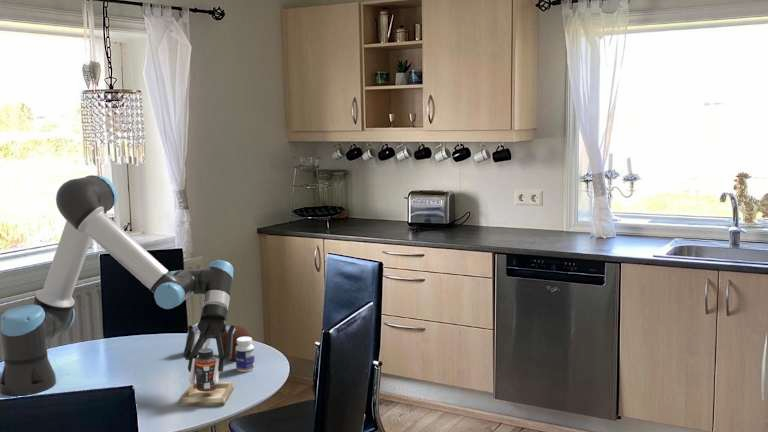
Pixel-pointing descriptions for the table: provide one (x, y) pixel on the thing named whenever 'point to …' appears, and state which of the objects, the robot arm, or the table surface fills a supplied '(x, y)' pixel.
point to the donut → (196, 339)
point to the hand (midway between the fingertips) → (203, 381)
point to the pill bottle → (244, 354)
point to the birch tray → (207, 395)
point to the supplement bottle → (205, 370)
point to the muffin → (234, 340)
